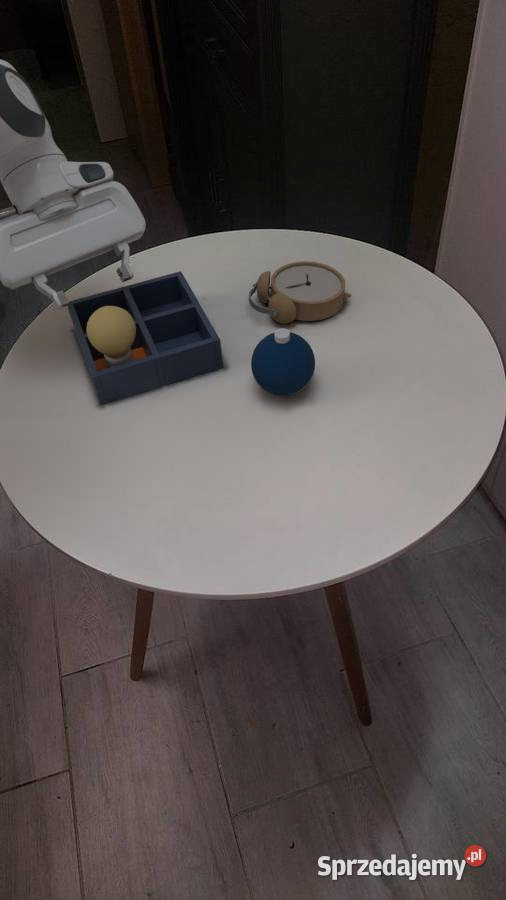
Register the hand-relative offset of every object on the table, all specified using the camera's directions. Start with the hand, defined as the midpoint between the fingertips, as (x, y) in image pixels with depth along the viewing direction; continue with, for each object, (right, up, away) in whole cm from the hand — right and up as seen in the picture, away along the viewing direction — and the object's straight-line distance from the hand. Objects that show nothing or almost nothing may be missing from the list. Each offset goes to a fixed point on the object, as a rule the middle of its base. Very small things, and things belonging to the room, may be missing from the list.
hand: (96, 293), depth 90 cm
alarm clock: (+27, +2, +15) cm, 31 cm away
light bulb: (+2, -9, +6) cm, 12 cm away
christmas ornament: (+25, -12, +3) cm, 28 cm away
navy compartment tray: (+5, -6, +10) cm, 13 cm away
